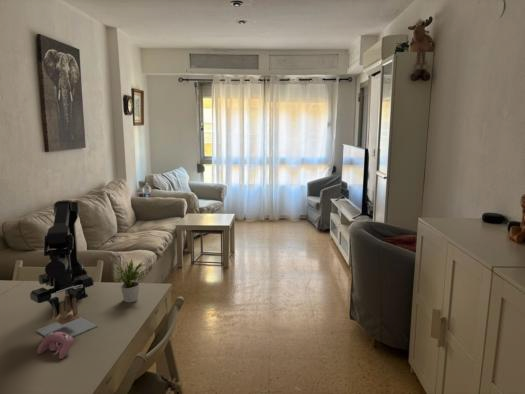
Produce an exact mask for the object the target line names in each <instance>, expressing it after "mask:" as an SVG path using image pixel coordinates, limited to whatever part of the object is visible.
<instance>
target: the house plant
mask: <svg viewBox="0 0 525 394" xmlns="http://www.w3.org/2000/svg"><path fill="white" fill-rule="evenodd" d="M124 261H125V264H126V268H127V269H123V268H122V267H121V265H118V264H117V263H114V266H116V267H117V268H118V269H115V268H114V270H115V271H116V272H118V273H119V274H120V276H119V275H118V276H116V277H117V278H115V279H114V281H122V284H121V285H120V288H121V293H122V298H123V300H124V302H125V303H134V302H136V301H138V299H139V292H140V291H139V290H140V282H138V281H139V280H140V279H141V278H142V277H145V274H141V273H140V272H141V271H142V270H144V269H143V268H141V267H144V266H148V265H149V264H147V263H146V264H145V263H144V262H145V260H143V261H141V262H140V263H138V265H136V266H134V263H133V259H132V258H131V259H130V261H129V264H128V262H127V261H126V260H124ZM140 268H141V269H140ZM136 279H137V281H136Z"/></svg>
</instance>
